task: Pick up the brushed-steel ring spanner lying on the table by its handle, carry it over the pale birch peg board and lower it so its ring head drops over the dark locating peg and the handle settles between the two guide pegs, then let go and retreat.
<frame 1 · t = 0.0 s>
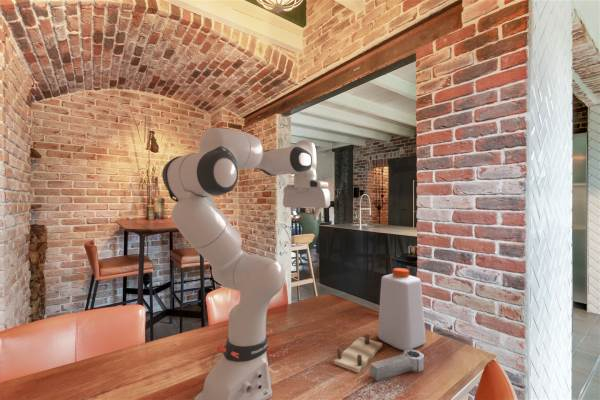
hand: (305, 219, 112), 48 cm above the table, fingers open, 8 cm apart
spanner: (391, 373, 92), on the table
plastic bottle: (401, 340, 114), on the table
peg board: (359, 354, 103), on the table
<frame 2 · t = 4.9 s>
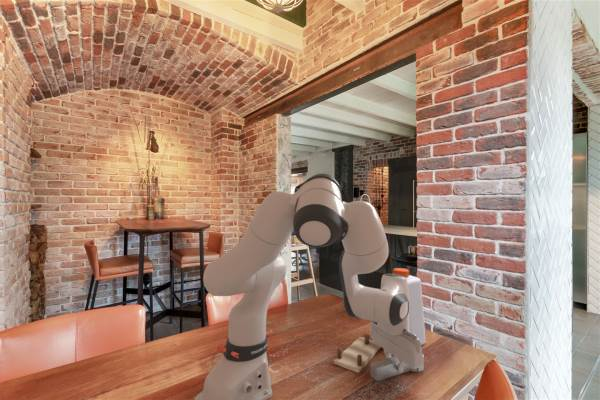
hand: (394, 367, 93), 2 cm above the table, fingers closed on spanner, 3 cm apart
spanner: (391, 373, 92), on the table, touching gripper
everything else where it was.
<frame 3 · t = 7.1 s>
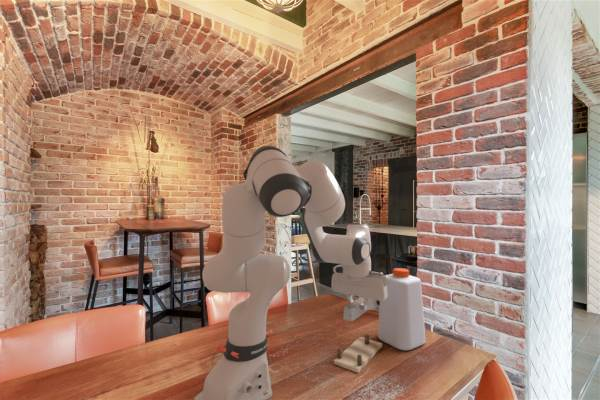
hand: (358, 308, 102), 17 cm above the table, fingers closed on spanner, 3 cm apart
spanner: (356, 314, 101), point 15 cm above the table, touching gripper
everything else where it was.
when the fingers open (4 cm above the table, at t = 9.6 s): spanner stays where it is, resting on peg board.
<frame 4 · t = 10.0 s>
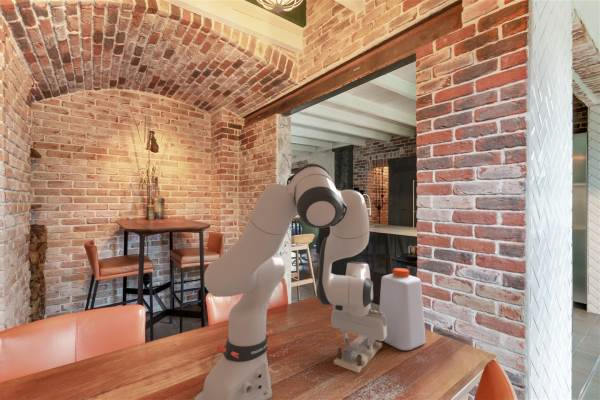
hand: (358, 345, 103), 4 cm above the table, fingers open, 7 cm apart
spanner: (356, 354, 101), point 1 cm above the table, touching peg board
everything else where it was.
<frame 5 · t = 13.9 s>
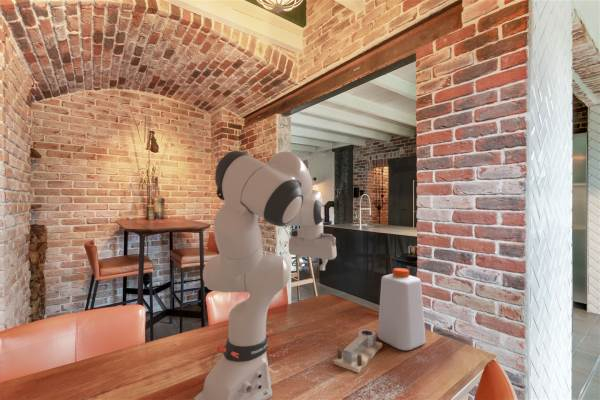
hand: (311, 268, 111), 29 cm above the table, fingers open, 8 cm apart
nothing on the table moved.
at the end: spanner 0.0 cm from the target spot on the peg board, point 1.2 cm above the peg board's base; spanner tilted 0°; the gripper is holding nothing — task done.
